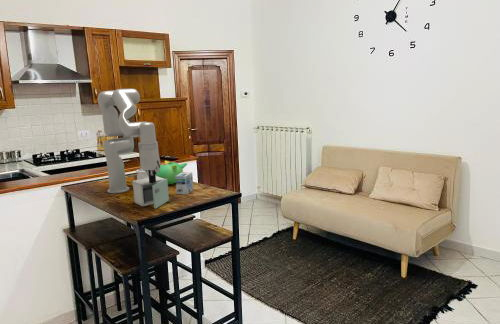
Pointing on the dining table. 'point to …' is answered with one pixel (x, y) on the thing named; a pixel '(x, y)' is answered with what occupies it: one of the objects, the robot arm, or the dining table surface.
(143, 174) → the jar
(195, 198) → the dining table surface
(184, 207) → the dining table surface
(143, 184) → the housing
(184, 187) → the light bulb box
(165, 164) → the toy bird
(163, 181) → the door
